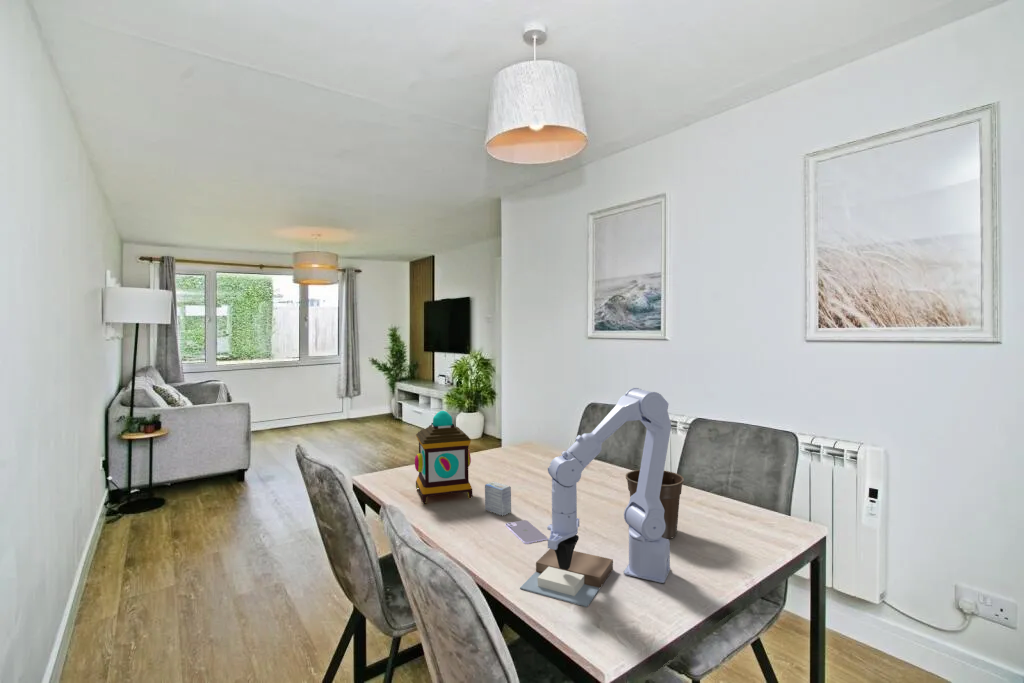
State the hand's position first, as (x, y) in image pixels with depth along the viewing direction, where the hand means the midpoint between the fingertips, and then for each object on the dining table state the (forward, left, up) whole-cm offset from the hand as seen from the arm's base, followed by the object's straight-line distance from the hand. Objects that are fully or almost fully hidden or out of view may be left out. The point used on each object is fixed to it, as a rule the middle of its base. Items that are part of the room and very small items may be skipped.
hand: (564, 567), depth 115 cm
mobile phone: (+21, -22, -4) cm, 31 cm away
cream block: (0, +2, -3) cm, 4 cm away
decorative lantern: (+62, -38, -4) cm, 73 cm away
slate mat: (0, +3, -4) cm, 5 cm away
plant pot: (-12, -39, -4) cm, 41 cm away
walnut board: (0, -7, -4) cm, 7 cm away
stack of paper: (+36, -32, -4) cm, 48 cm away
